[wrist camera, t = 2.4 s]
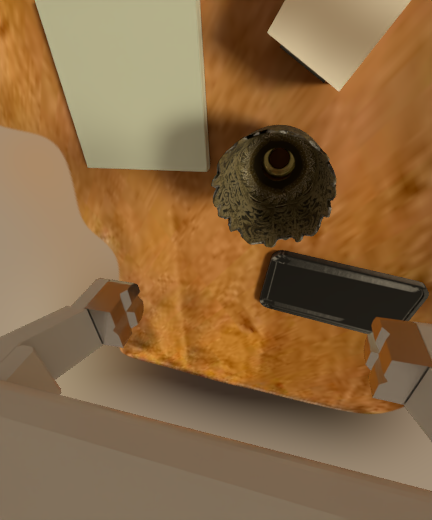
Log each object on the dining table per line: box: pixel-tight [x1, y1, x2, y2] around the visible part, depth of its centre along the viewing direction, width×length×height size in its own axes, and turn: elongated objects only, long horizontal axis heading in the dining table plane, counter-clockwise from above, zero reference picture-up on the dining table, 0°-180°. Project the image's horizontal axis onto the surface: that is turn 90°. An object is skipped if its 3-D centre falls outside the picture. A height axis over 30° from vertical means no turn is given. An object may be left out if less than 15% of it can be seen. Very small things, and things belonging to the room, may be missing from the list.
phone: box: [260, 250, 429, 334], centre depth 30 cm, size 8×1×15 cm
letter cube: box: [267, 0, 411, 91], centre depth 16 cm, size 5×5×5 cm
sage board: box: [35, 0, 210, 172], centre depth 22 cm, size 12×12×1 cm
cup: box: [211, 125, 336, 248], centre depth 20 cm, size 8×7×8 cm
